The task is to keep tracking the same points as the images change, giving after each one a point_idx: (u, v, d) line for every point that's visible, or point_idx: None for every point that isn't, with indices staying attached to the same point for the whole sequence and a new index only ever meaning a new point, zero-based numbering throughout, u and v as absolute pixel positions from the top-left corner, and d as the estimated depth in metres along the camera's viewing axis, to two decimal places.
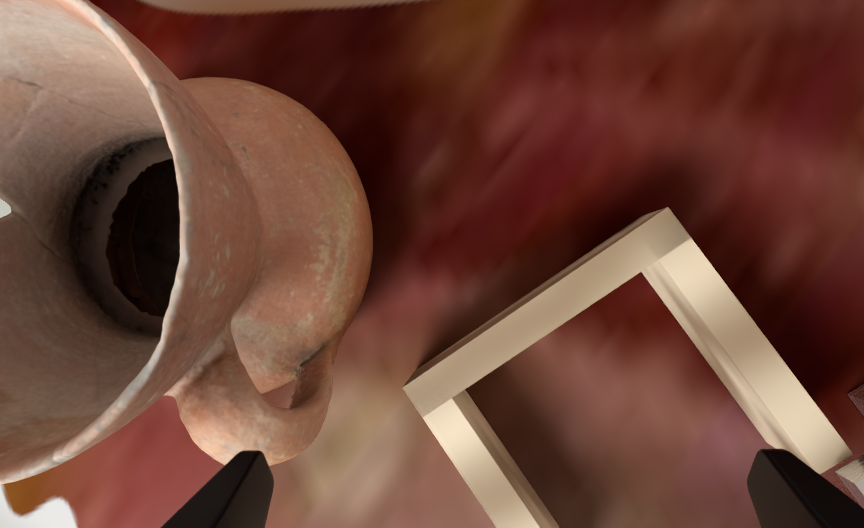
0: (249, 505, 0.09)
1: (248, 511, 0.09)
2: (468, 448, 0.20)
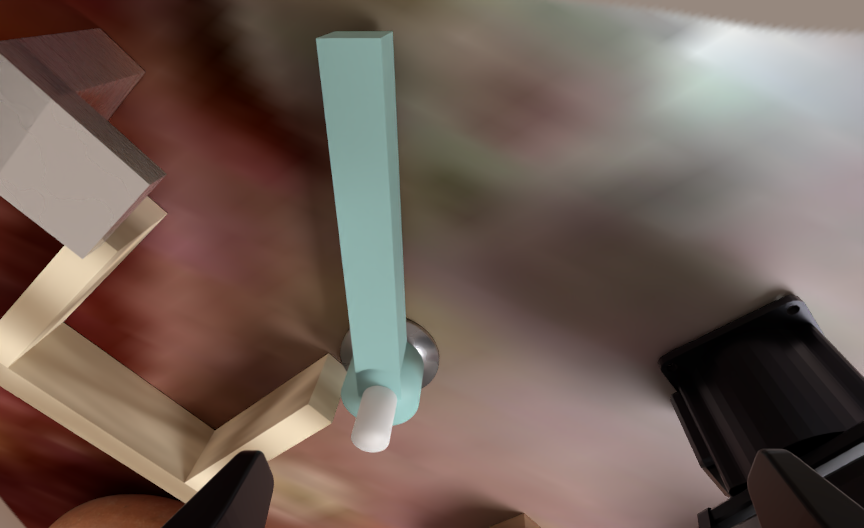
0: (249, 505, 0.09)
1: (248, 511, 0.09)
2: None
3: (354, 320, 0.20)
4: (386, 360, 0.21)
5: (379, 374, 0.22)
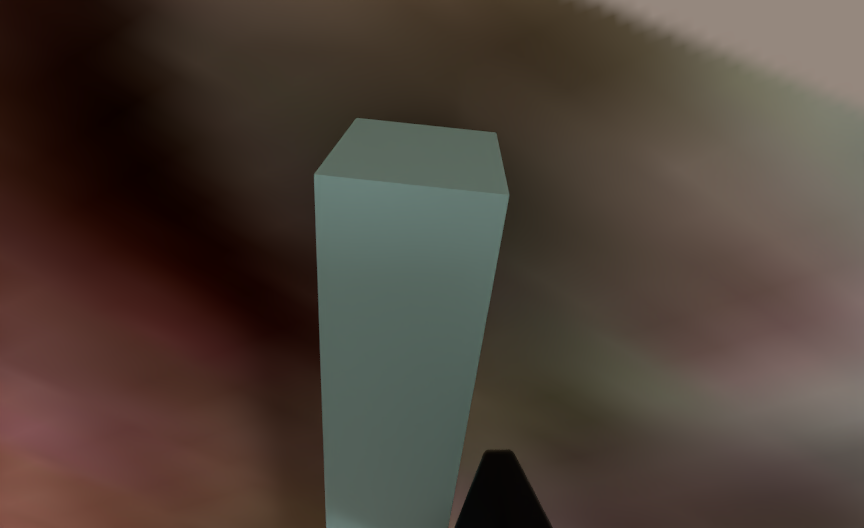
0: None
1: None
2: None
3: None
4: None
5: None
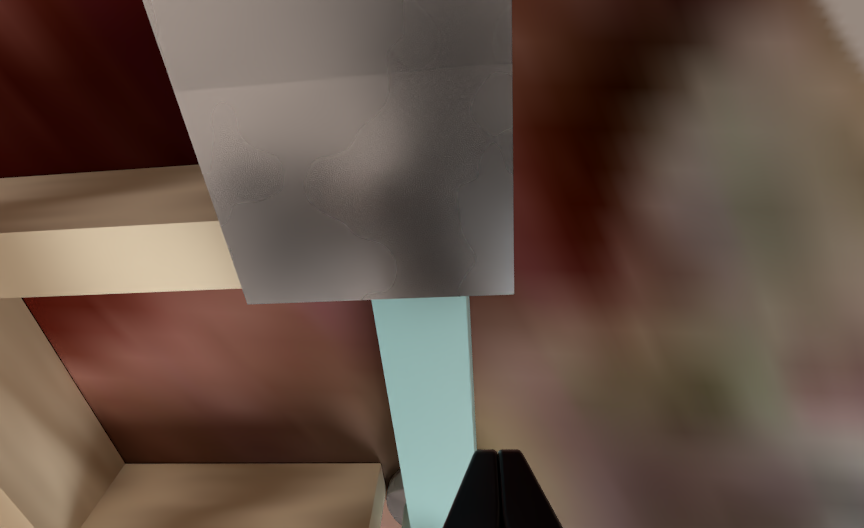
0: None
1: None
2: None
3: (413, 499, 0.14)
4: None
5: None
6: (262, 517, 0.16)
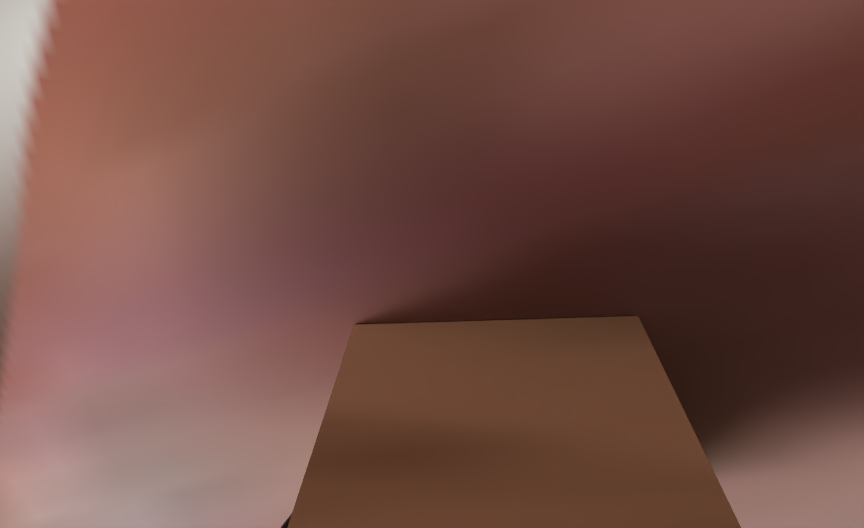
0: None
1: None
2: None
3: None
4: None
5: None
6: None
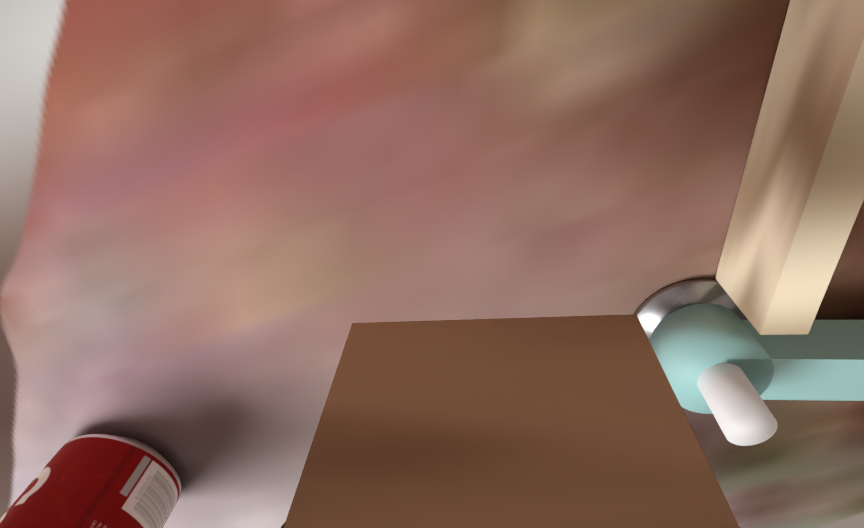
0: None
1: None
2: None
3: (855, 364, 0.17)
4: (782, 389, 0.18)
5: (761, 381, 0.18)
6: None
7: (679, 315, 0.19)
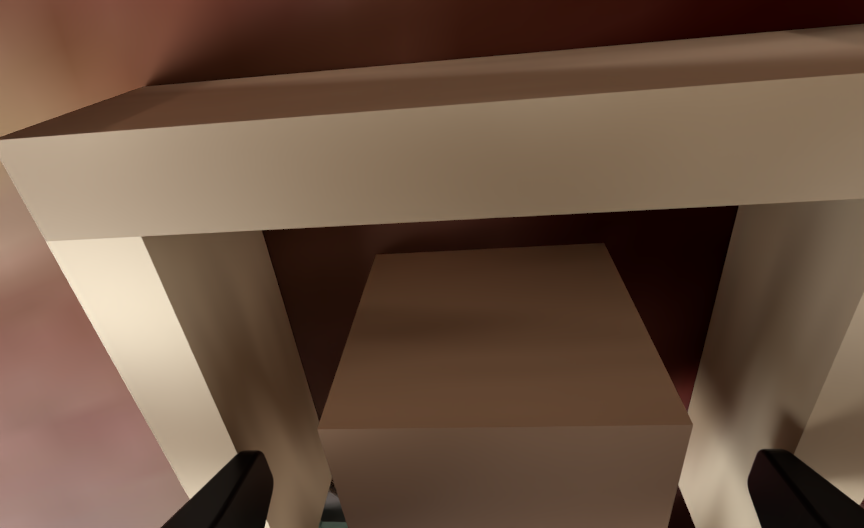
0: (249, 505, 0.09)
1: (248, 511, 0.09)
2: (155, 349, 0.08)
3: None
4: None
5: None
6: (281, 448, 0.11)
7: None
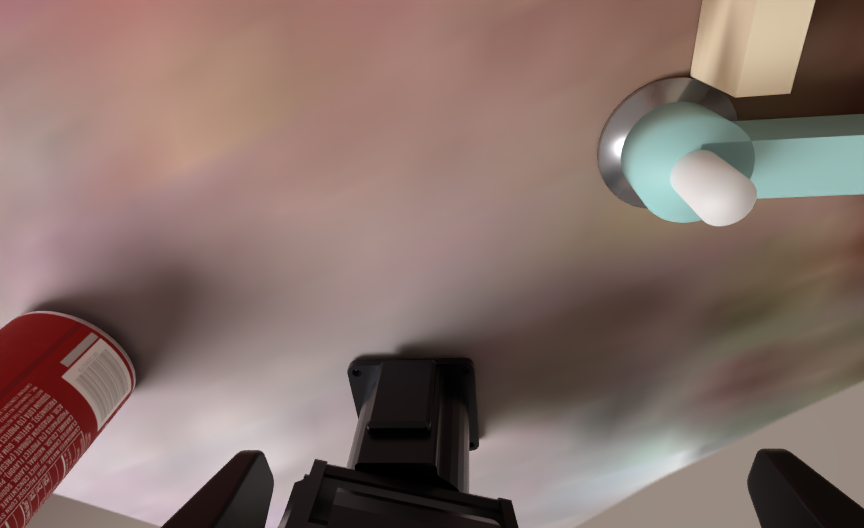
0: (249, 505, 0.09)
1: (248, 511, 0.09)
2: None
3: (846, 142, 0.15)
4: (765, 182, 0.16)
5: (741, 173, 0.16)
6: None
7: (650, 115, 0.17)
